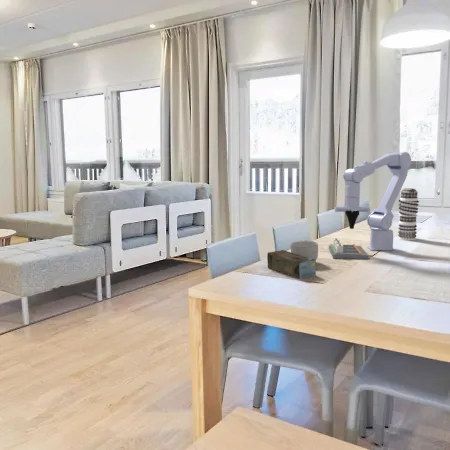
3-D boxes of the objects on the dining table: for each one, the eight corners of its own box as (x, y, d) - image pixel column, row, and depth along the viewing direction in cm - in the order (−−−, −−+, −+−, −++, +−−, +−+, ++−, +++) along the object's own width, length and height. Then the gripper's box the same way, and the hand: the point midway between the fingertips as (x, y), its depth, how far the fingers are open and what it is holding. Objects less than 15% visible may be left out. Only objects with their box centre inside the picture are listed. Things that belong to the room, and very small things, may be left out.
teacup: (317, 266, 175) (318, 245, 174) (289, 265, 177) (289, 245, 176) (317, 258, 189) (318, 239, 187) (291, 257, 191) (291, 238, 190)
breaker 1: (338, 245, 205) (338, 238, 205) (339, 247, 202) (339, 239, 201) (333, 245, 206) (333, 238, 205) (333, 247, 202) (334, 239, 202)
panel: (360, 249, 206) (360, 244, 206) (368, 259, 186) (368, 253, 186) (328, 248, 208) (328, 243, 208) (333, 258, 188) (333, 252, 188)
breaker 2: (340, 248, 199) (340, 241, 199) (341, 250, 196) (341, 242, 195) (334, 248, 199) (334, 240, 199) (335, 250, 196) (335, 242, 195)
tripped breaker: (341, 251, 193) (342, 243, 192) (343, 253, 189) (343, 245, 189) (336, 251, 193) (336, 243, 192) (337, 253, 189) (337, 245, 189)
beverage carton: (298, 279, 158) (299, 260, 157) (266, 268, 174) (266, 251, 173) (316, 276, 162) (316, 257, 161) (283, 265, 178) (283, 248, 177)
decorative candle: (411, 241, 224) (414, 189, 220) (393, 238, 231) (395, 188, 227) (420, 238, 230) (423, 188, 226) (402, 236, 237) (405, 187, 233)
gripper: (368, 196, 200) (367, 227, 201) (334, 196, 201) (333, 226, 203) (371, 197, 193) (370, 229, 195) (336, 197, 194) (335, 229, 196)
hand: (351, 228), depth 198 cm, fingers closed
